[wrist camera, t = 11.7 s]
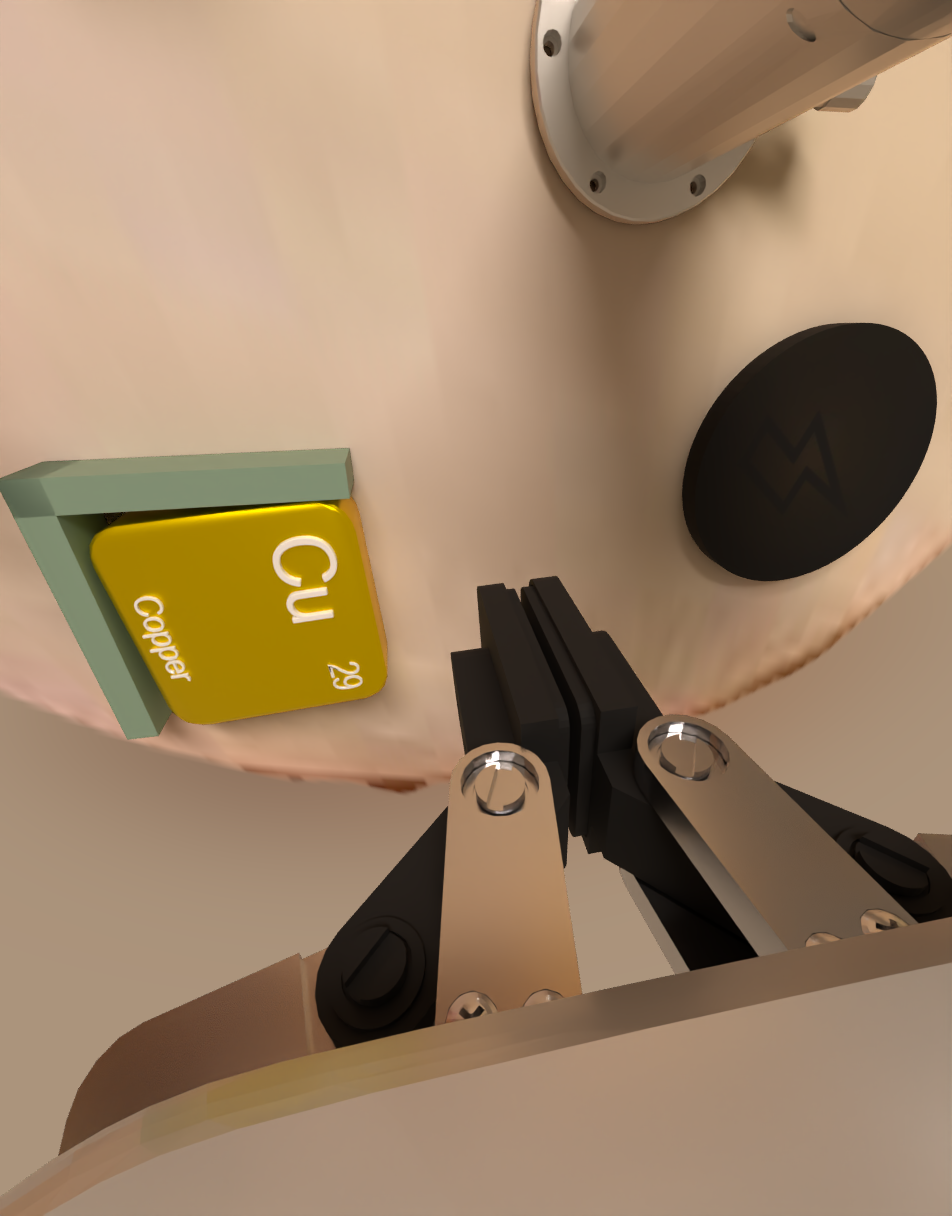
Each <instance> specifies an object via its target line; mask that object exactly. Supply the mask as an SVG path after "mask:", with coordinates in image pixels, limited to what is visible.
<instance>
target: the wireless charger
mask: <svg viewBox="0 0 952 1216" xmlns="http://www.w3.org/2000/svg"><path fill="white" fill-rule="evenodd" d="M936 408H937V392H936V383H935V379H934V374H933V371H932V368H931V365H930V363H929V361H928V359H927V357H926V355H925V354H924V352H923V351H922V349H921V348H920V347H919V346H918V344H916V343H915V342H914V341H913V340H912V339H911V338H910V337H908V336H907V335H906V334H904V333H902V332H900V331H899V330H897V329H894V328H891V327H889V326H885V325H881V324H874V323H837V324H827V325H821V326H817V327H813V328H810V329H807V330H804V331H801V332H799V333H796V334H794V335H792V336H790V337H788V338H786V339H784V340H782V341H780V342H778V343H777V344H775V345H774V346H772V347H770V348H769V349H767V350H766V351H765V352H763V353H762V354H760V355H759V356H758V357H757V358H755V359H754V360H753V361H752V362H750V363H749V364H748V365H747V366H746V367H745V368H744V369H743V370H742V371H741V372H740V373H739V374H738V375H737V376H736V377H735V378H734V379H733V380H732V381H731V382H730V383H729V384H728V386H727V387H726V388H725V389H724V390H723V392H722V393H721V394H720V396H719V397H718V398H717V400H716V401H715V402H714V404H713V405H712V407H711V408H710V410H709V412H708V413H707V415H706V417H705V418H704V420H703V422H702V424H701V426H700V428H699V430H698V432H697V434H696V437H695V439H694V441H693V444H692V447H691V449H690V452H689V456H688V459H687V463H686V467H685V472H684V478H683V489H682V501H683V511H684V516H685V520H686V524H687V527H688V530H689V532H690V534H691V536H692V538H693V540H694V541H695V543H696V544H697V546H698V547H699V548H700V549H701V551H702V552H703V553H704V554H705V555H707V556H708V557H709V558H710V559H712V560H713V561H714V562H716V563H717V564H719V565H720V566H722V567H723V568H724V569H726V570H727V571H729V572H731V573H733V574H735V575H737V576H740V577H743V578H747V579H751V580H758V581H777V580H785V579H790V578H794V577H798V576H801V575H804V574H807V573H810V572H813V571H815V570H817V569H820V568H822V567H824V566H826V565H828V564H830V563H831V562H833V561H835V560H837V559H838V558H840V557H841V556H843V555H845V554H846V553H847V552H849V551H850V550H852V549H853V548H854V547H856V546H857V545H858V544H860V543H861V542H862V541H863V540H864V539H866V538H867V537H868V536H869V535H870V534H871V533H872V532H873V531H874V530H875V529H876V528H877V527H878V526H879V525H880V524H881V523H882V522H883V521H884V520H885V519H886V518H887V517H888V515H889V514H890V513H891V512H892V511H893V509H894V508H895V507H896V506H897V504H898V503H899V502H900V500H901V499H902V497H903V496H904V494H905V493H906V491H907V490H908V488H909V487H910V485H911V483H912V482H913V480H914V478H915V476H916V474H917V473H918V471H919V469H920V466H921V464H922V462H923V460H924V457H925V455H926V452H927V450H928V447H929V444H930V441H931V437H932V433H933V429H934V424H935V418H936Z"/></svg>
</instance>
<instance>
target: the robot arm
mask: <svg viewBox="0 0 952 1216" xmlns="http://www.w3.org/2000/svg"><path fill="white" fill-rule="evenodd" d="M950 37H952V0H537V2H536V7H535V12H534V17H533V22H532V36H531V51H530V71H531V86H532V98H533V103H534V108H535V113H536V118H537V123H538V127H539V131H540V134H541V136H542V139H543V142H544V145H545V147H546V150H547V153H548V155H549V158H550V160H551V161H552V163H553V165H554V167H555V168H556V170H557V172H558V174H559V176H560V177H561V179H562V181H563V182H564V183H565V184H566V186H567V187H568V188H569V189H570V190H571V191H572V193H573V194H574V195H575V196H576V197H577V198H578V200H580V201H581V202H582V203H584V204H585V205H586V206H587V207H589V208H590V209H591V210H593V211H594V212H595V213H597V214H599V215H602V216H604V217H606V218H609V219H611V220H613V221H616V222H621V223H628V224H635V225H638V224H647V223H656V222H660V221H663V220H666V219H669V218H672V217H675V216H677V215H679V214H681V213H683V212H685V211H687V210H689V209H691V208H693V207H695V206H697V205H698V204H700V203H701V202H702V201H704V200H705V199H706V198H708V197H709V196H710V195H712V194H713V193H714V192H716V191H717V190H718V189H719V187H720V186H721V185H722V184H723V183H724V182H725V181H726V180H727V179H728V178H729V177H730V176H731V175H732V174H733V173H734V172H735V170H736V169H737V168H738V166H739V165H740V163H741V162H742V160H743V159H744V158H745V156H746V155H747V153H748V152H749V150H750V149H751V148H752V146H753V144H754V142H755V140H756V138H757V137H758V136H760V135H762V134H764V133H766V132H768V131H770V130H772V129H773V128H775V127H777V126H779V125H781V124H783V123H785V122H787V121H789V120H791V119H793V118H795V117H797V116H799V115H801V114H803V113H804V112H806V111H808V110H810V109H812V108H814V109H815V110H817V111H832V112H851V111H853V110H855V109H857V108H858V107H859V106H860V105H861V104H862V103H863V101H864V100H865V99H866V98H867V96H868V94H869V93H870V91H871V89H872V87H873V86H874V83H875V80H876V77H877V75H878V74H880V73H882V72H884V71H886V70H888V69H890V68H892V67H893V66H895V65H897V64H899V63H901V62H903V61H905V60H907V59H909V58H911V57H913V56H915V55H917V54H919V53H921V52H923V51H924V50H926V49H928V48H930V47H932V46H934V45H936V44H938V43H940V42H942V41H944V40H946V39H948V38H950ZM544 46H548V47H549V48H550V49H551V53H552V55H551V57H549V56H547V55H546V53H545V51H544V49H543V47H544ZM590 181H594V183H595V184H596V189H595V191H594V192H592V190H591V188H590ZM690 184H691V185H692V193H691V191H690ZM477 598H478V610H479V623H480V635H481V647H482V648H478V649H471V650H465V651H458V652H451V661H452V669H453V678H454V685H455V693H456V700H457V707H458V714H459V720H460V727H461V733H462V739H463V745H464V752H465V756H464V757H462V758H461V759H460V760H459V762H458V763H457V765H456V766H455V768H454V769H453V772H452V776H451V780H450V786H449V787H450V788H449V803H448V806H447V808H446V809H445V810H444V811H443V812H442V813H441V814H440V816H439V817H438V818H437V819H436V820H435V821H434V823H433V824H432V825H431V826H430V827H429V828H428V830H427V831H426V832H425V833H424V834H423V835H422V836H421V837H420V839H419V840H418V841H417V842H416V843H415V845H414V846H413V847H412V848H411V849H410V850H409V851H408V852H407V854H406V855H405V856H404V857H403V858H402V860H401V861H400V862H399V863H398V864H397V865H396V866H395V867H394V869H393V870H392V871H391V872H390V873H389V874H388V875H387V877H386V878H385V879H384V880H383V881H382V883H380V885H379V886H378V887H377V888H376V889H375V890H374V892H373V893H372V894H371V895H370V896H369V897H368V899H367V900H366V901H365V902H364V903H363V904H362V905H361V906H360V908H359V909H358V910H357V911H356V912H355V913H354V915H353V916H352V917H351V918H350V919H349V920H348V921H347V923H346V924H345V925H344V926H343V927H342V928H341V929H340V931H339V932H338V933H337V935H336V936H335V938H334V939H333V941H332V942H331V944H330V945H329V947H328V948H325V949H323V950H321V951H319V952H317V953H314V954H312V955H310V956H308V957H306V958H303V959H302V957H301V955H300V954H299V953H297V954H295V955H293V956H290V957H288V958H286V959H284V960H281V961H279V962H277V963H275V964H273V965H270V966H268V967H266V968H264V969H261V970H259V971H257V972H255V973H252V974H250V975H248V976H246V977H244V978H241V979H239V980H237V981H235V982H232V983H230V984H228V985H226V986H223V987H221V988H219V989H217V990H215V991H212V992H210V993H208V994H205V995H203V996H201V997H199V998H197V999H195V1000H192V1001H190V1002H188V1003H185V1004H183V1005H181V1006H179V1007H176V1008H174V1009H172V1010H170V1011H168V1012H165V1013H163V1014H161V1015H159V1016H156V1017H154V1018H152V1019H150V1020H148V1021H145V1022H143V1023H141V1024H140V1025H138V1026H137V1027H135V1028H133V1029H132V1030H130V1031H129V1032H127V1033H126V1034H124V1035H122V1036H121V1037H119V1038H118V1039H117V1040H116V1041H115V1042H114V1043H113V1044H112V1045H111V1046H110V1048H108V1050H106V1052H105V1053H104V1054H103V1055H102V1056H101V1057H100V1058H99V1059H98V1060H97V1061H96V1062H95V1064H94V1065H93V1067H92V1068H91V1070H90V1072H89V1073H88V1075H87V1076H86V1078H85V1079H84V1081H83V1082H82V1084H81V1086H80V1087H79V1088H78V1091H77V1093H76V1096H75V1099H74V1101H73V1104H72V1107H71V1109H70V1112H69V1115H68V1117H67V1120H66V1124H65V1129H64V1133H63V1138H62V1142H61V1147H60V1151H59V1155H58V1157H56V1158H54V1159H53V1160H51V1161H50V1162H48V1163H47V1164H45V1165H44V1166H42V1167H41V1168H40V1169H38V1170H37V1171H36V1172H34V1173H33V1174H31V1175H30V1176H28V1177H27V1178H26V1179H24V1180H23V1181H21V1182H20V1183H19V1184H17V1185H16V1186H14V1187H13V1188H12V1189H10V1190H9V1191H8V1192H6V1193H5V1194H3V1195H2V1196H0V1216H952V835H944V834H921V833H918V834H917V836H916V837H915V839H914V840H911V839H910V838H908V837H906V836H904V835H902V834H900V833H898V832H896V831H894V830H893V829H890V828H888V827H886V826H883V825H881V824H879V823H876V822H874V821H871V820H869V819H867V818H864V817H861V816H859V815H857V814H854V813H852V812H849V811H847V810H844V809H842V808H840V807H837V806H834V805H832V804H830V803H827V802H825V801H822V800H820V799H817V798H815V797H812V796H810V795H808V794H805V793H803V792H800V791H798V790H795V789H793V788H790V787H788V786H785V785H783V784H781V783H778V782H776V781H773V780H772V779H771V778H770V777H769V776H768V775H767V774H766V773H765V772H764V771H763V770H762V769H761V768H760V767H759V766H758V765H757V764H756V763H755V762H754V761H753V760H752V759H751V758H750V757H749V756H748V755H747V754H746V753H745V752H744V751H743V750H742V749H741V748H740V747H739V746H738V745H737V744H736V743H735V742H734V741H733V740H732V739H731V738H730V737H729V736H728V735H726V734H725V733H724V732H722V731H721V730H720V729H719V728H717V727H716V726H714V725H712V724H710V723H708V722H706V721H704V720H701V719H698V718H694V717H690V716H687V715H673V714H672V715H665V716H663V715H662V713H661V712H660V710H659V709H658V707H657V706H656V704H655V703H654V701H653V700H652V698H651V697H650V695H649V694H648V692H647V691H646V689H645V688H644V686H643V685H642V683H641V682H640V680H639V679H638V677H637V676H636V674H635V673H634V671H633V670H632V668H631V667H630V665H629V664H628V662H627V661H626V659H625V658H624V656H623V655H622V653H621V652H620V650H619V649H618V647H617V646H616V644H615V643H614V641H613V640H612V638H611V637H610V636H609V634H608V633H607V632H605V631H596V632H592V631H591V629H590V628H589V626H588V625H587V623H586V621H585V620H584V618H583V617H582V615H581V613H580V612H579V610H578V609H577V607H576V605H575V604H574V602H573V600H572V599H571V597H570V596H569V594H568V592H567V591H566V589H565V588H564V586H563V584H562V583H561V581H560V580H559V578H558V577H557V576H552V577H545V578H537V579H531V580H530V582H529V587H522V588H521V602H520V600H519V597H518V595H517V593H516V591H515V589H506V587H505V585H504V583H500V584H492V585H485V586H477ZM568 827H569V830H570V833H571V834H572V836H573V837H576V836H582V838H583V841H584V843H585V846H586V849H587V852H588V854H591V853H596V852H602V854H603V857H604V858H605V859H607V860H608V861H610V862H612V863H614V864H615V865H617V866H619V870H620V874H621V877H622V879H623V882H624V884H625V886H626V888H627V889H628V891H629V893H630V895H631V897H632V898H633V900H634V902H635V904H636V905H637V907H638V909H639V911H640V912H641V914H642V916H643V918H644V920H645V921H646V923H647V925H648V927H649V929H650V930H651V932H652V934H653V936H654V937H655V939H656V941H657V943H658V944H659V946H660V948H661V950H662V952H663V953H664V955H665V957H666V959H667V960H668V962H669V964H670V965H671V968H672V969H673V971H674V973H675V975H670V976H665V977H661V978H656V979H651V980H646V981H642V982H637V983H633V984H627V985H623V986H619V987H613V988H609V989H604V990H599V991H595V992H590V993H586V994H582V988H581V981H580V974H579V968H578V961H577V954H576V948H575V941H574V935H573V928H572V921H571V915H570V908H569V902H568V895H567V888H566V883H565V882H566V881H565V875H564V868H565V866H566V864H567V844H568V843H567V842H568Z"/></svg>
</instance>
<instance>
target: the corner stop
mask: <svg viewBox="0 0 952 1216" xmlns="http://www.w3.org/2000/svg"><path fill="white" fill-rule="evenodd" d="M353 482H354V477H353V470H352V463H351V456H350V448H339V449H317V450H294V451H272V452H250V453H227V454H205V455H183V456H160V457H138V458H116V459H93V460H71V461H49V462H41V463H38V464H36V465H33V466H31V467H28V468H25V469H23V470H20V471H18V472H15V473H12V474H10V475H7V476H5V477H2V478H0V492H1V493H2V495H3V497H4V499H5V501H6V503H7V505H8V507H9V509H10V511H11V513H12V515H13V517H14V519H15V521H16V523H17V525H18V527H19V529H20V531H21V533H22V534H23V536H24V538H25V540H26V542H27V544H28V546H29V548H30V550H31V552H32V554H33V556H34V558H35V560H36V562H37V564H38V566H39V568H40V570H41V572H42V574H43V575H44V577H45V579H46V581H47V583H48V585H49V587H50V589H51V591H52V593H53V595H54V597H55V599H56V601H57V603H58V605H59V607H60V609H61V611H62V613H63V615H64V616H65V618H66V620H67V622H68V624H69V626H70V628H71V630H72V632H73V634H74V636H75V638H76V640H77V642H78V644H79V646H80V648H81V650H82V652H83V654H84V656H85V657H86V659H87V661H88V663H89V665H90V667H91V669H92V671H93V673H94V675H95V677H96V679H97V681H98V683H99V685H100V687H101V689H102V691H103V693H104V695H105V697H106V698H107V700H108V702H109V704H110V706H111V708H112V710H113V712H114V714H115V716H116V718H117V720H118V722H119V724H120V726H121V728H122V730H123V732H124V734H125V736H126V738H127V739H137V738H145V737H154V736H159V734H160V733H161V731H162V729H163V727H164V725H165V724H166V722H167V720H168V718H169V716H170V715H171V713H172V711H171V709H170V708H169V707H168V705H167V703H166V701H165V699H164V698H163V696H162V694H161V692H160V690H159V688H158V686H157V685H156V683H155V681H154V679H153V677H152V675H151V673H150V672H149V670H148V668H147V666H146V664H145V662H144V660H143V659H142V657H141V655H140V653H139V651H138V649H137V647H136V646H135V644H134V642H133V640H132V638H131V636H130V634H129V633H128V631H127V629H126V627H125V625H124V623H123V621H122V620H121V618H120V616H119V614H118V612H117V610H116V608H115V607H114V605H113V603H112V601H111V599H110V597H109V595H108V594H107V592H106V590H105V588H104V586H103V584H102V582H101V581H100V579H99V577H98V575H97V573H96V571H95V569H94V568H93V565H92V562H91V559H90V549H89V545H90V543H91V541H92V539H93V537H94V536H95V534H97V533H98V532H99V531H101V530H102V529H104V528H105V527H107V526H108V525H107V522H106V520H105V517H104V515H103V513H113V512H130V511H147V510H164V509H181V508H198V507H215V506H233V505H250V504H267V503H284V502H301V501H318V500H335V499H350V496H351V491H352V487H353Z"/></svg>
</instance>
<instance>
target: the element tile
mask: <svg viewBox="0 0 952 1216" xmlns="http://www.w3.org/2000/svg"><path fill="white" fill-rule="evenodd" d="M89 549H90V559H91V562H92V565H93V568H94V569H95V571H96V573H97V575H98V577H99V579H100V581H101V582H102V584H103V586H104V588H105V590H106V592H107V594H108V595H109V597H110V599H111V601H112V603H113V605H114V607H115V608H116V610H117V612H118V614H119V616H120V618H121V620H122V621H123V623H124V625H125V627H126V629H127V631H128V633H129V634H130V636H131V638H132V640H133V642H134V644H135V646H136V647H137V649H138V651H139V653H140V655H141V657H142V659H143V660H144V662H145V664H146V666H147V668H148V670H149V672H150V673H151V675H152V677H153V679H154V681H155V683H156V685H157V686H158V688H159V690H160V692H161V694H162V696H163V698H164V699H165V701H166V703H167V705H168V707H169V708H170V709H171V711H172V712H173V713H174V714H175V715H177V716H178V717H179V718H180V719H182V720H184V721H186V722H188V723H193V724H202V725H205V724H216V723H222V722H228V721H234V720H240V719H246V718H252V717H258V716H263V715H269V714H275V713H281V712H287V711H293V710H299V709H305V708H311V707H317V706H323V705H329V704H335V703H341V702H347V701H353V700H359V699H364V698H367V697H370V696H372V695H374V694H376V693H378V692H379V691H380V690H381V689H382V688H383V687H384V685H385V683H386V679H387V640H386V635H385V630H384V626H383V621H382V616H381V612H380V607H379V602H378V598H377V593H376V588H375V584H374V579H373V574H372V570H371V565H370V560H369V556H368V551H367V546H366V541H365V537H364V532H363V527H362V523H361V518H360V513H359V510H358V508H357V505H356V503H355V501H354V500H353V498H352V497H351V496H350V499H335V500H318V501H301V502H284V503H267V504H250V505H233V506H215V507H198V508H181V509H164V510H147V511H130V512H127V513H125V514H124V515H122V516H121V517H119V518H118V519H116V520H115V521H114V522H112V523H111V524H109V525H108V526H107V527H105V528H104V529H102V530H101V531H99V532H98V533H97V534H95V536H94V537H93V539H92V541H91V543H90V545H89Z"/></svg>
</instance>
